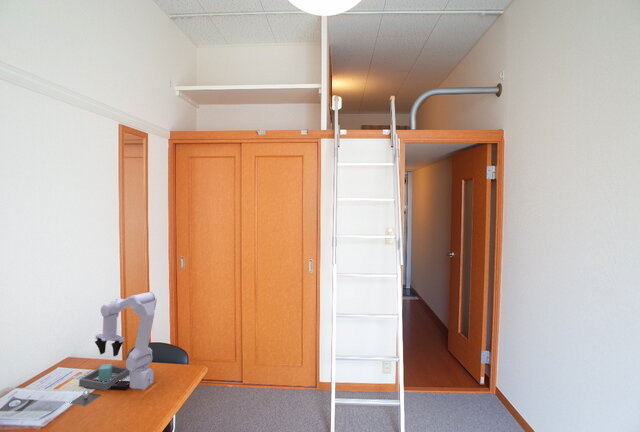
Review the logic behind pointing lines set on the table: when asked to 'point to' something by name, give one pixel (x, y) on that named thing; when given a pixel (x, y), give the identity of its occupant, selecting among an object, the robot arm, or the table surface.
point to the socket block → (105, 372)
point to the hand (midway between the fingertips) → (109, 354)
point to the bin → (104, 386)
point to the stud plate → (85, 398)
